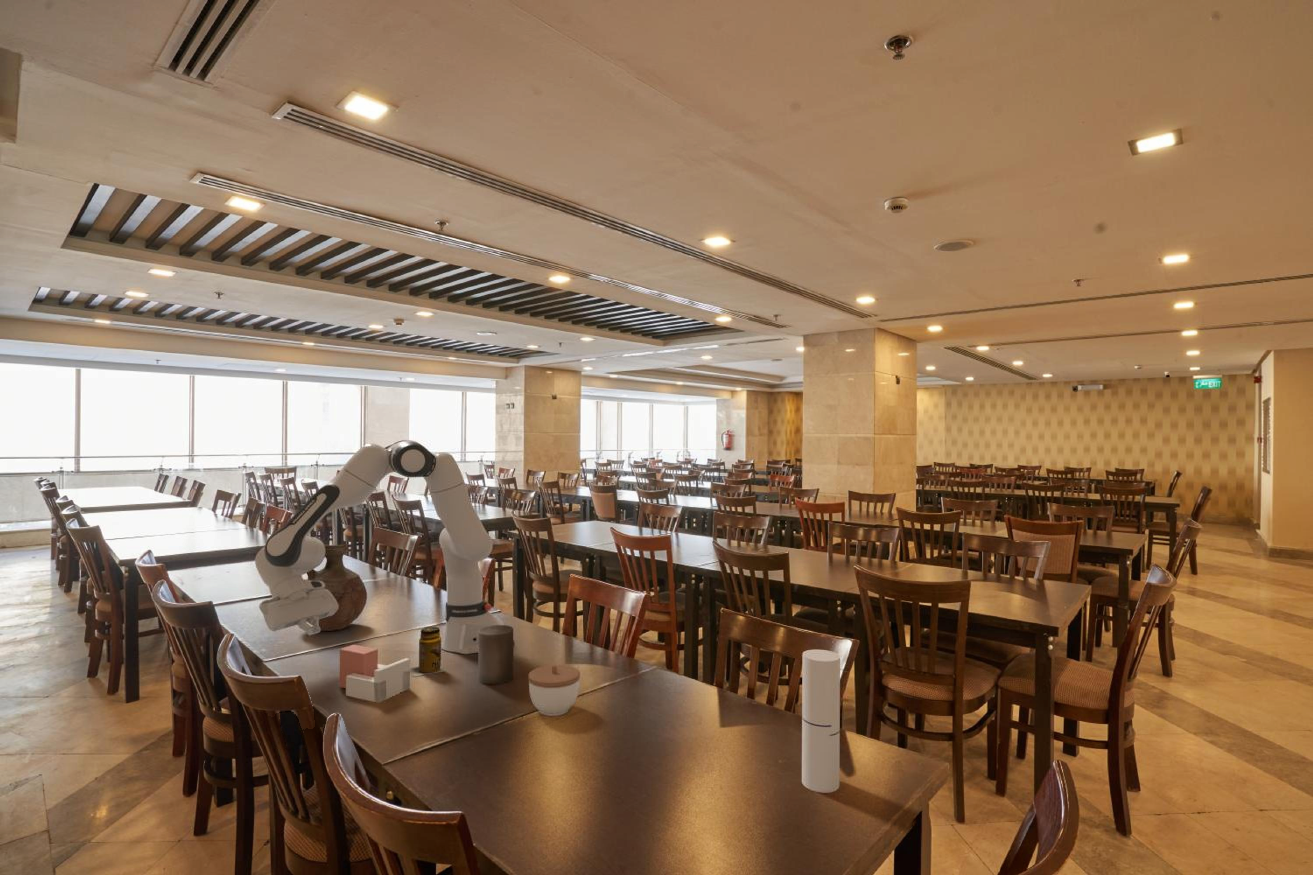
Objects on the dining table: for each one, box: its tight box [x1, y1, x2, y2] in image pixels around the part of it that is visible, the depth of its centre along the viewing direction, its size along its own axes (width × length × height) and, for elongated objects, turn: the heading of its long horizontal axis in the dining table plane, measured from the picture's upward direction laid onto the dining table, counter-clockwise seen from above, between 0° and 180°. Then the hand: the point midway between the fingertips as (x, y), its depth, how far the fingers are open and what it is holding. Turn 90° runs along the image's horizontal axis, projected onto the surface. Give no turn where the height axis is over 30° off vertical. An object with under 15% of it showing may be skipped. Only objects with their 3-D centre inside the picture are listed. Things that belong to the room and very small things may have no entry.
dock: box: [345, 657, 411, 704], centre depth 174 cm, size 12×10×8 cm
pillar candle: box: [477, 624, 514, 685], centre depth 185 cm, size 10×10×15 cm
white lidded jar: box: [527, 664, 581, 717], centre depth 163 cm, size 13×13×11 cm
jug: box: [306, 544, 368, 632], centre depth 232 cm, size 22×22×30 cm
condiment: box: [410, 626, 445, 677], centre depth 191 cm, size 7×8×12 cm
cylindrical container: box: [801, 649, 841, 794], centre depth 129 cm, size 7×7×25 cm
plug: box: [338, 644, 379, 689], centre depth 177 cm, size 9×4×10 cm, turn 65°
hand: (315, 632), depth 184 cm, fingers closed
